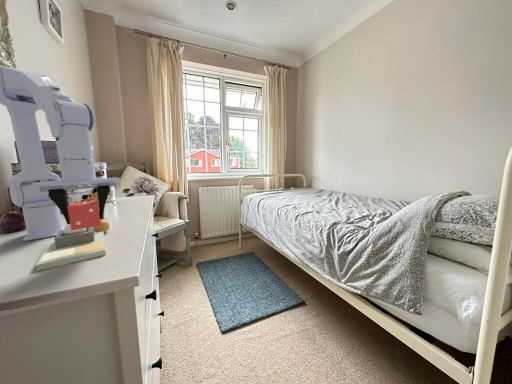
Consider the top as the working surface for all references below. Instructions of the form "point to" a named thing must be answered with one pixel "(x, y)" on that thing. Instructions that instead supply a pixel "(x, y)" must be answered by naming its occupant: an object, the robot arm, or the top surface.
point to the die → (84, 214)
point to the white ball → (70, 232)
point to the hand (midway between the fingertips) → (86, 220)
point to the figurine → (104, 223)
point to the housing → (74, 238)
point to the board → (71, 252)
